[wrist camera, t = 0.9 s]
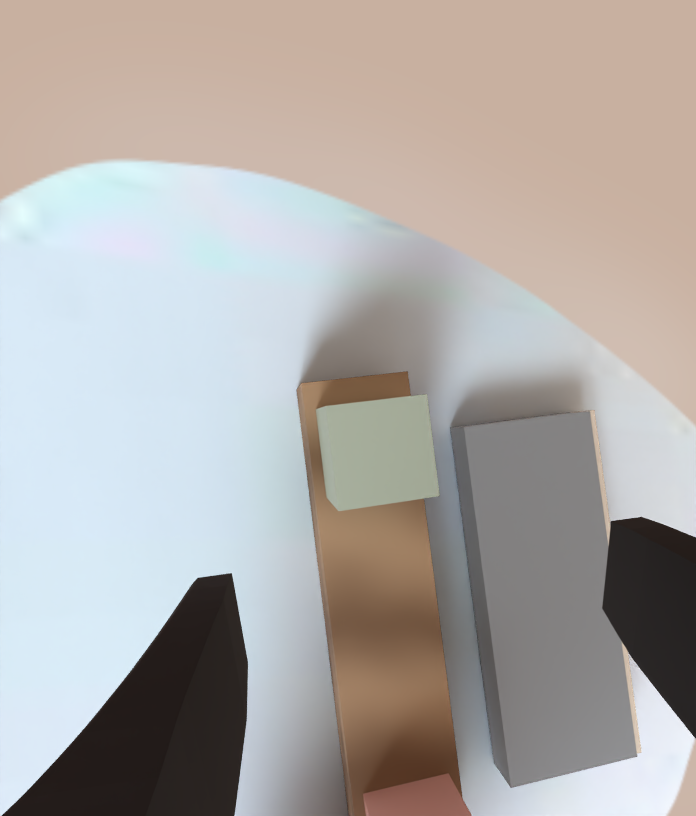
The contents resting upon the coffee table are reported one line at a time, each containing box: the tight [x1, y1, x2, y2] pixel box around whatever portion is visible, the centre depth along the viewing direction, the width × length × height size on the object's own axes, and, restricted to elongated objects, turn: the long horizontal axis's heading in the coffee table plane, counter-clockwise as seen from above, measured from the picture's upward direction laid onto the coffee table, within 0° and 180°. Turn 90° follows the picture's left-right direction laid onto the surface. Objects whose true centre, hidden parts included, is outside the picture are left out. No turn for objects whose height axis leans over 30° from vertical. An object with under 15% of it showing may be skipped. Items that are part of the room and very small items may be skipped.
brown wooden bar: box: [297, 371, 462, 816], centre depth 26 cm, size 24×5×4 cm, turn 7°
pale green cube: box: [316, 394, 440, 511], centre depth 22 cm, size 4×4×4 cm
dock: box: [450, 410, 641, 788], centre depth 28 cm, size 18×7×2 cm, turn 7°
